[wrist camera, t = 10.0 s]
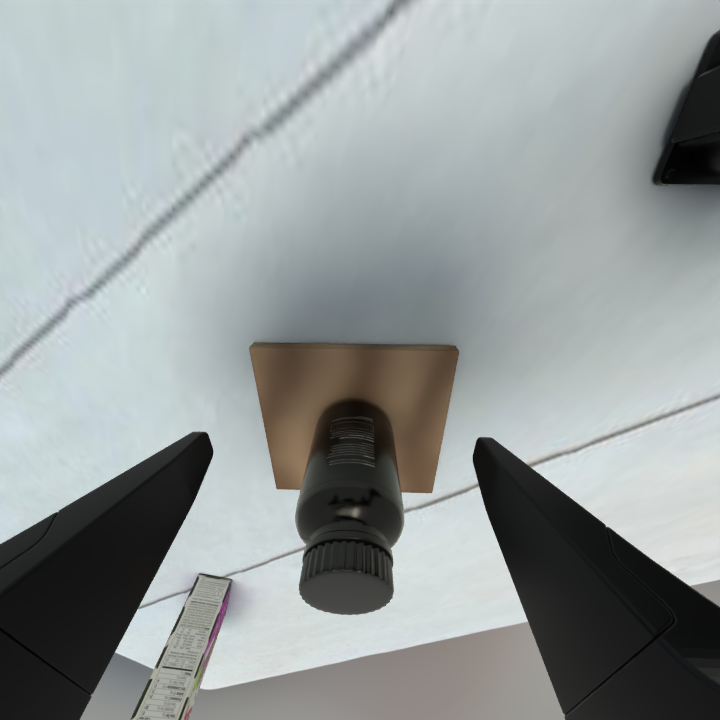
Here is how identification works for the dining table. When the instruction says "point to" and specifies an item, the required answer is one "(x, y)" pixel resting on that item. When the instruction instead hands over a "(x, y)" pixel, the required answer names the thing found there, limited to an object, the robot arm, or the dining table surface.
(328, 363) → the walnut board
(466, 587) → the dining table surface
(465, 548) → the dining table surface
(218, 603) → the candy bar box
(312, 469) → the supplement bottle
